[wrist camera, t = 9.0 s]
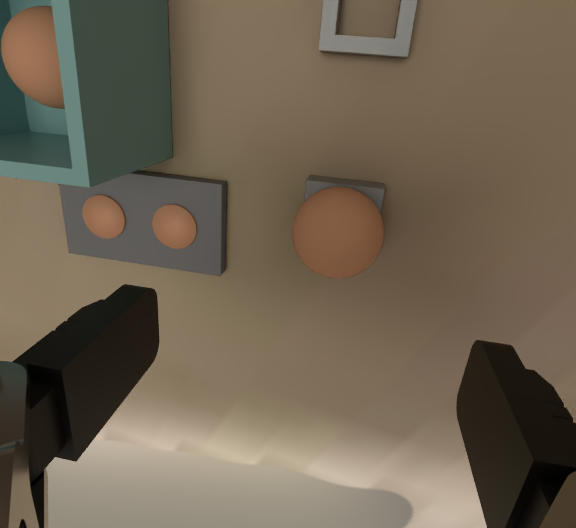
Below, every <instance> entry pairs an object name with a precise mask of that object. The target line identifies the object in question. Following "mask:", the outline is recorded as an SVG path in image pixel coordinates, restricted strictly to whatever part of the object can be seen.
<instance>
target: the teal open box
mask: <svg viewBox="0 0 576 528" xmlns="http://www.w3.org/2000/svg"><path fill="white" fill-rule="evenodd" d="M34 6H52V11H53V19H54V27H55V35H56V43H57V51H58V59H59V66H60V74H61V82H62V90H63V98H64V106H65V109H57V108H52V107H48V106H45V105H43V104H41V103H38V102H36V101H35V100H33V99H31V98H30V97H29V96H27V95H26V94H25V93H23V92H22V91H21V90H20V89H19V88H18V87H17V85H16V84H15V83H14V82H13V80H12V79H11V78H10V76H9V74H8V72H7V70H6V68H5V65H4V62H3V59H2V53H1V39H2V35H3V32H4V29H5V27H6V25H7V24H8V22H9V21H10V20H11V18H12V17H14V16H15V15H16V14H17V13H19V12H20V11H22V10H24V9H27V8H30V7H34ZM172 157H173V151H172V120H171V89H170V58H169V27H168V0H0V176H4V177H12V178H19V179H27V180H35V181H43V182H50V183H58V184H66V185H74V186H81V187H89V188H90V187H93V186H96V185H98V184H101V183H104V182H106V181H109V180H112V179H115V178H117V177H120V176H123V175H126V174H128V173H131V172H134V171H137V170H139V169H142V168H145V167H147V166H150V165H153V164H156V163H158V162H161V161H164V160H167V159H169V158H172Z"/></svg>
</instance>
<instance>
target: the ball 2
mask: <svg viewBox="0 0 576 528" xmlns="http://www.w3.org/2000/svg"><path fill="white" fill-rule="evenodd" d="M292 237H293V243H294V247H295V250H296V252H297V254H298V256H299V257H300V259H301V260H302V262H303V263H304V264H305V265H306V266H307V267H308V268H310V269H311V270H312V271H314V272H315V273H318V274H320V275H322V276H325V277H330V278H346V277H350V276H354V275H356V274H358V273H360V272H362V271H363V270H365V269H366V268H367V267H369V266H370V265H371V264H372V263H373V261H374V260H375V259H376V257H377V256H378V254H379V252H380V250H381V247H382V244H383V239H384V225H383V220H382V217H381V214H380V212H379V210H378V208H377V207H376V206H375V204H374V203H373V202H372V201H371V200H370V199H369V198H368V197H367V196H365V195H364V194H362V193H361V192H359V191H357V190H354V189H351V188H346V187H331V188H326V189H323V190H320V191H318V192H316V193H314V194H313V195H312V196H310V197H309V198H308V199H307V200H306V201H305V202H304V203H303V204H302V205H301V207H300V208H299V210H298V212H297V214H296V216H295V219H294V222H293V228H292Z"/></svg>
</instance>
